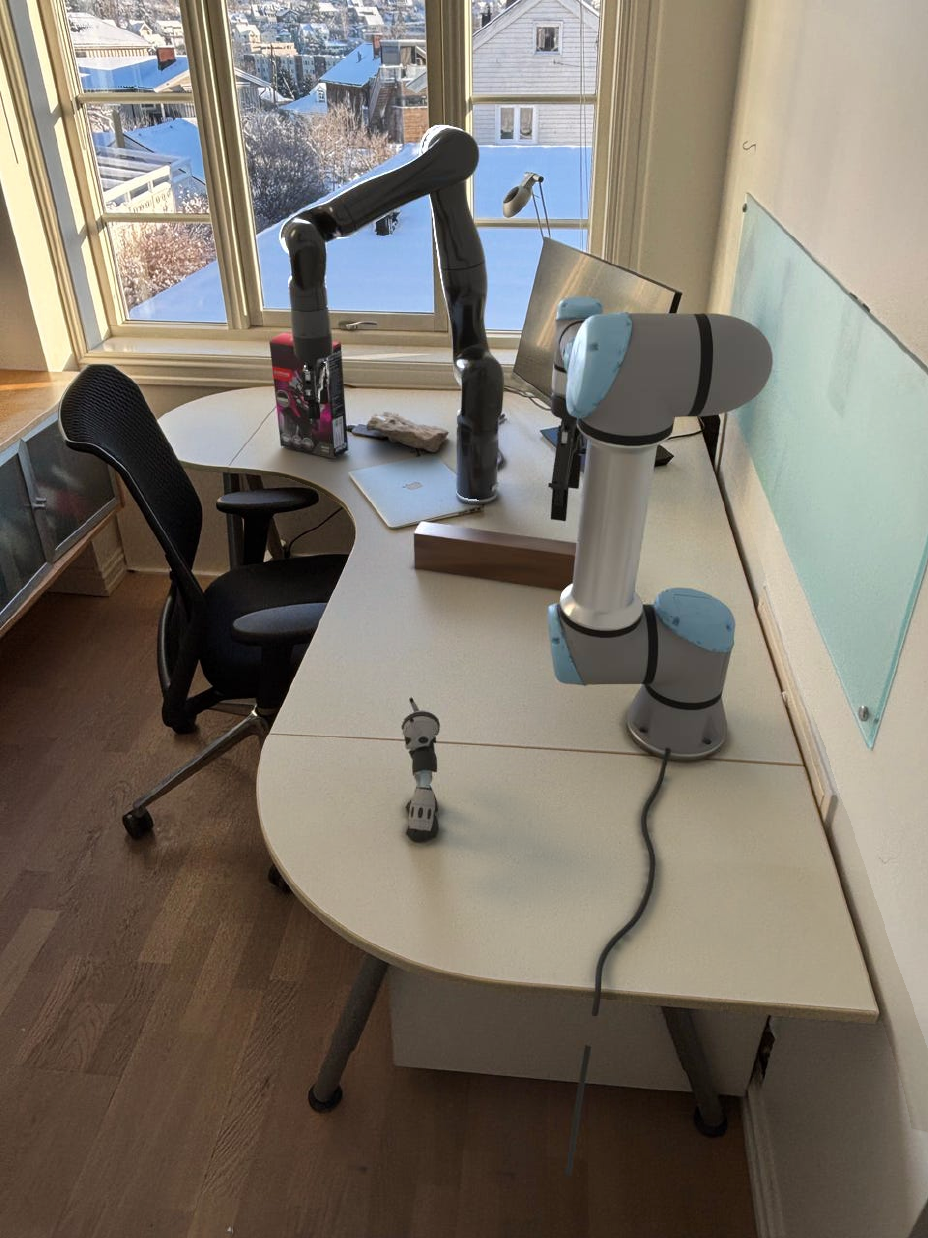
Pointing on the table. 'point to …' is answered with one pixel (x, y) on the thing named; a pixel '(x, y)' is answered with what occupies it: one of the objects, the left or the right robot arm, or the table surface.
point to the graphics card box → (294, 412)
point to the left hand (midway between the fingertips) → (319, 410)
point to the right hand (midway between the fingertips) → (565, 503)
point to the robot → (422, 772)
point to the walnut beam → (494, 555)
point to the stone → (407, 431)
